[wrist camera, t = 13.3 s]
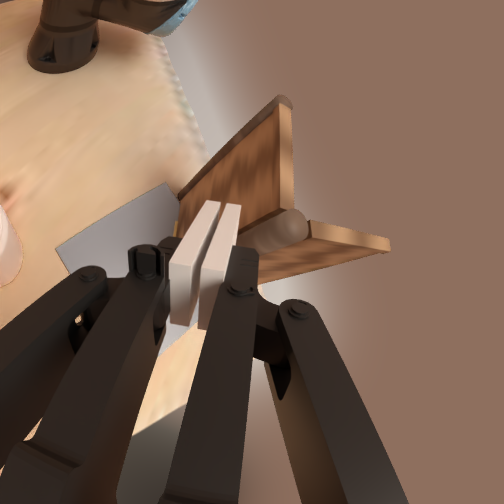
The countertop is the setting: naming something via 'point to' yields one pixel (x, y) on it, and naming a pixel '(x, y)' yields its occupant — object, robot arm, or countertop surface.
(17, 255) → the beverage can
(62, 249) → the card
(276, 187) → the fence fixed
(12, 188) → the countertop surface
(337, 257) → the brown wooden board
